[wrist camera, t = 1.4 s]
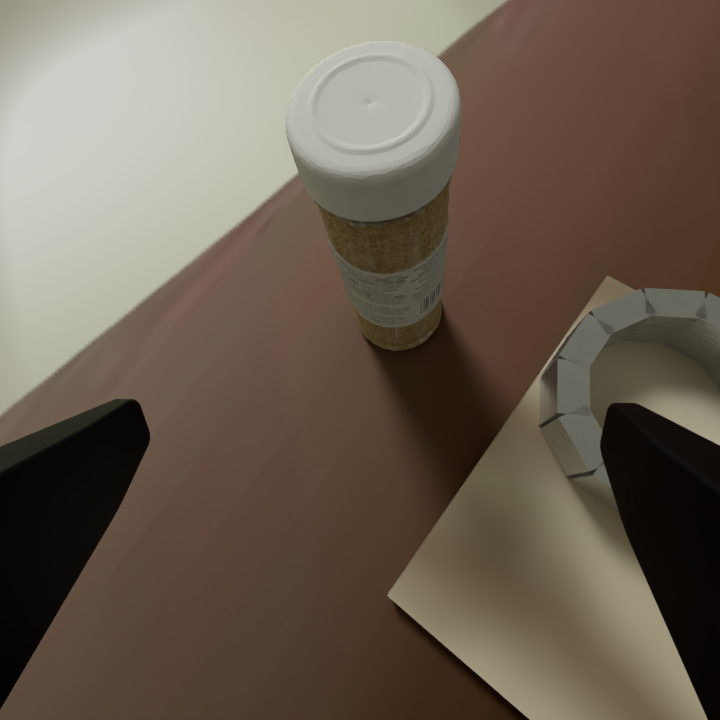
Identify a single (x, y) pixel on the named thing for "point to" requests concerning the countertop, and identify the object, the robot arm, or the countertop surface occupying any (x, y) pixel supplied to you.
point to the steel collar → (580, 348)
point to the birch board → (560, 559)
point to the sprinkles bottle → (382, 178)
